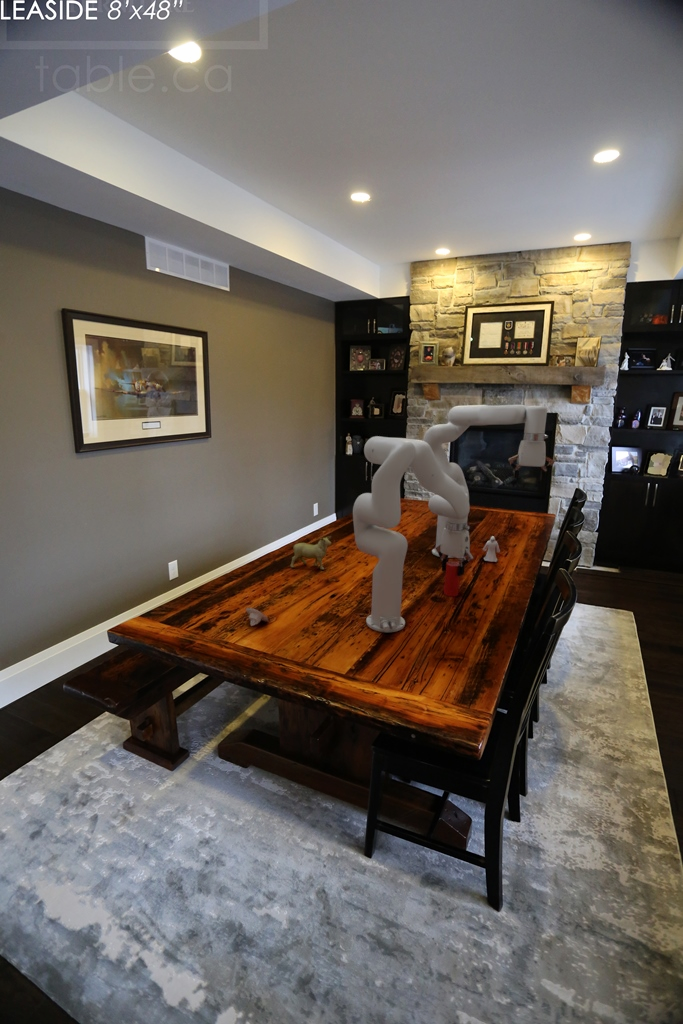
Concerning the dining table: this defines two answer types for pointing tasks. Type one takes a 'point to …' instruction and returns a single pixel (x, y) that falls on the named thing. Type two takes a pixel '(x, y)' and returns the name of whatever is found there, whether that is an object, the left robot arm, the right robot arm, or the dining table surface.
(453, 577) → the tin
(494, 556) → the figurine
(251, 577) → the dining table surface
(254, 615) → the seashell
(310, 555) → the toy
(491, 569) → the dining table surface
